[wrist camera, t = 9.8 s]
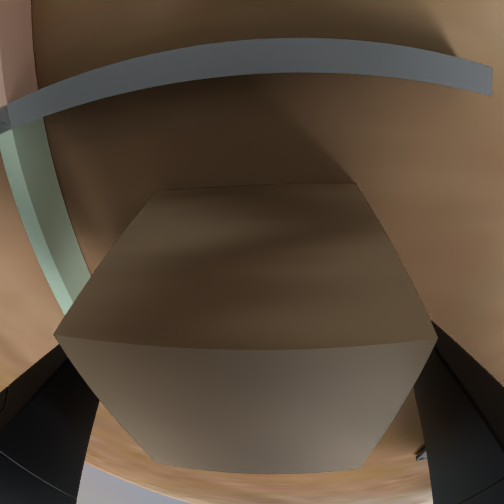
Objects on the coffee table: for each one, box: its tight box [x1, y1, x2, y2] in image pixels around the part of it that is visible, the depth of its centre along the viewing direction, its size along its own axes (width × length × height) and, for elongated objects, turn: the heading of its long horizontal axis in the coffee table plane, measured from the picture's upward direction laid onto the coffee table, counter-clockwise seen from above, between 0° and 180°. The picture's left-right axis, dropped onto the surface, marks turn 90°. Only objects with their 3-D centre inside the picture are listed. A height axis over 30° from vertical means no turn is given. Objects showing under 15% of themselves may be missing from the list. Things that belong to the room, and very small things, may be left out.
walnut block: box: [53, 183, 438, 474], centre depth 8 cm, size 6×6×6 cm
